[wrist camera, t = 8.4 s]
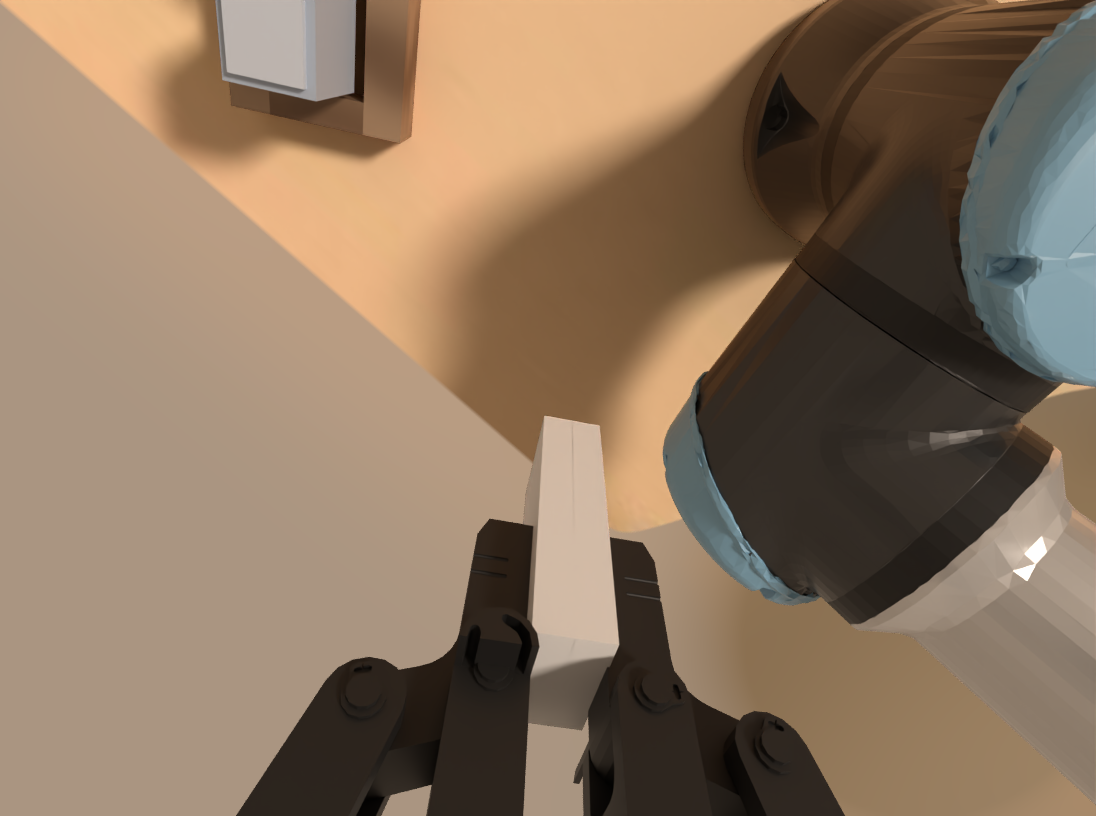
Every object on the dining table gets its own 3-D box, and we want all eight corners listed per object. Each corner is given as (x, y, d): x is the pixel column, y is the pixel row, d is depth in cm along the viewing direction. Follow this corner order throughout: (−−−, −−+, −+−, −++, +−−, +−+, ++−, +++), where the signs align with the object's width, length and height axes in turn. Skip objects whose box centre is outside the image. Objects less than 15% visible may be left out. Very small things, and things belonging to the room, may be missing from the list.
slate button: (270, -21, 31) (207, -35, 25) (356, -1, 31) (311, -10, 26) (275, 74, 33) (218, 80, 28) (354, 92, 33) (313, 102, 28)
